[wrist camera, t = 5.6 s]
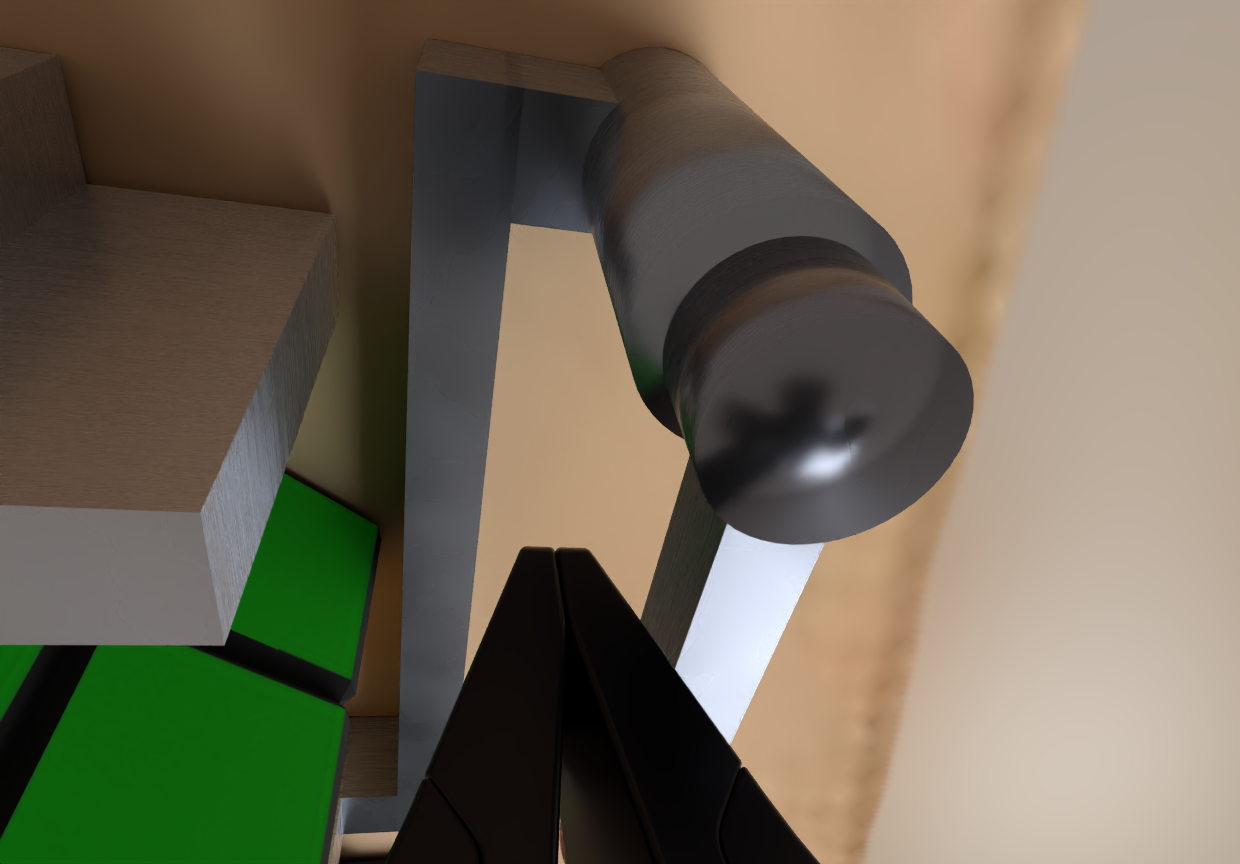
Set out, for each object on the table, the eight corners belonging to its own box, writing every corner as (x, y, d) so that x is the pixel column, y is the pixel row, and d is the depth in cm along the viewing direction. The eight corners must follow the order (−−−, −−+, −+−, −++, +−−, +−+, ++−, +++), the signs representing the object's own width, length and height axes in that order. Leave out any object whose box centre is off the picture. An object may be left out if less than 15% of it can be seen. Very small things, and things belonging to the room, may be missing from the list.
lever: (682, 200, 7) (746, 307, 5) (907, 232, 8) (1031, 338, 6) (541, 801, 13) (549, 942, 12) (671, 796, 14) (696, 930, 12)
